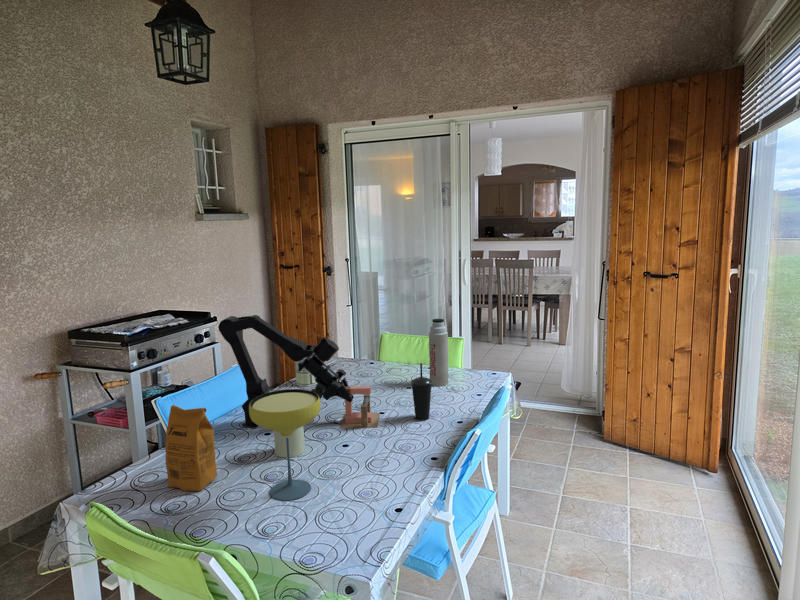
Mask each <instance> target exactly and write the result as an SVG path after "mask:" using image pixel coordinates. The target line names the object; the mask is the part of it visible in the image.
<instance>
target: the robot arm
mask: <svg viewBox="0 0 800 600" xmlns="http://www.w3.org/2000/svg"><path fill="white" fill-rule="evenodd" d="M217 328H218V331H219V333H220V334H221V336H222V338H223V339H224V341H226V342H227V343H228V344H229V345H230V347H231V349H232V352H233V355H234V357H235V359H236V361H237V364H238V367H239V369H240V371H241V373H242V375H243V379H244V381H245V388H246V389H245V390H246V396H247V399H246V401H245V402H244V403H243V404H242V405H241V408H242V410H243V412H244V422H242V423H241V424H242V426H246V427H249V428H258V427H259V426H258V425H257V424H255V423H254V422H253V421H252V420H251V418H250V415H249V404H250V402H251V401H252V400H253V399H254V398H256V397H257V396H260V395H262V394H265V393H269V392H270V389H271V387H270V386H269V385H268V381H267V378H263V379H262V378H261V377H260V376H259V375H258V372H257V370H256V368H255V365H254V363H253V360H252V357H251V355H250V352H249V351H248V348H247V346H246V343H245V341H244V330H248V329H253V330H254V331H255V332H257V333H258V334H260V335H262V336H264V338H266V339H267V340H269V341H270V342H272V343H274V344H275V345H277V346H278V347H279V348H280V349H281V350H282V352H283V353H284V354H285V355H286V356H287V357H288V358H289V359H291V361H293V362H295V361H296V362H297V361H301V360H303V359H304V358H305V357H307V358H306V359H305V360H304V361H303V362H299V363H298V366H299V370H298V371H301V370H302V369H303V368H305V369H306V370H307V371H308V372H309V373H311V374H312V375H313V376H314V377H315V378H316V379H315V382H316V383H317V385H315V388H312V389H311V390H310V391H312V392H314V393H316V394H317V395H318V396H319V398H320V400H321V399H322V398H323V399H325V400H326V401H328V400H329V399H330V398H333V397H338V398H339V399H340V398H341V399H343V400H344V401H345V400H347V401H349V402H352V403H353V399H354V394H351V396H350V394H349V392H348V391H347V389H346V387H350V386H349V383H348V381H347V378H346V377H345V375H346V374H347V372H346V371H345V370H344V369H337V370H336V372H334V370H333V369H331V368H330V367H331V365H329V364H325V363H324V362H325V361H326V362H328V361H330V360H331V358H332V357H333V356H334V355H335V354H336V353H337V352H338V351H339V350H340V349H339V348H340V347H339V346H338V344H336V343H335V341H333V340H331V339H329V338H327V337H326V336H323V337H322V338H321V339H320V341H319V342H318V343H317V344H316V345H314V344H307V343H305V342H304V341H302V340H299V339H297V338H294V337H290V336H289V335H287V334H285V333H283V332H282V331H281V330H279V329H277V328H276V327H274V325H272V324H270V323H268V321H265V320H264V319H263V318H261V317H260V316H259V315H257V314H251V315H246V316H239V317H237V316H234V315H230V316H228V317H226V318H224V319H222V320H221V321H220V322H219V323H218V327H217ZM313 352H314V353H315V354H314V355H313V356H312V357H309V356H311V355H312V353H313ZM343 376H344V377H343ZM342 377H343V379H342ZM351 397H352V398H351Z"/></svg>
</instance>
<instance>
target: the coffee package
mask: <svg viewBox="0 0 800 600" xmlns="http://www.w3.org/2000/svg"><path fill="white" fill-rule="evenodd" d="M207 411H208V410H207V408H206V407H198V408H197V407H196V408H188V409H184V408H181V407H179V406H178V405H174V404H172V405H171V406H170V410H169V415H168V422H167V427H166V435H165V467H166V471H167V472H166V474H167V482H168V483H167V484H168V488H178V489H180V490H182V491H183V492H201V491H203V490H204V489H205V488H206V487H207V486H208V485H209V484H211V482H212V481H215V480H216V478H217V477H218V473H217V472H218V471H217V462H216V445H215V444H216V443H215V429H214V428H213V426H212V424H211V422H210V420H209V419H208V417H207V415H206V413H207Z"/></svg>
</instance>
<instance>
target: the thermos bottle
mask: <svg viewBox="0 0 800 600" xmlns="http://www.w3.org/2000/svg"><path fill="white" fill-rule="evenodd" d="M431 322H432V323H431V324H432V325H431V326H429V332H428V348H429V349H428V353H429V355H428V357H429V379H431V380H432V385H431V386H433V387H444V386H448V385H449V335H448V333H449V332H448V331H447V327H446V326H445V323H444V322H445V320H444V319H443V318H434V319H432V321H431Z"/></svg>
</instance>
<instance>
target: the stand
mask: <svg viewBox="0 0 800 600" xmlns="http://www.w3.org/2000/svg"><path fill="white" fill-rule="evenodd" d="M360 412H361V423H345V417H346V412H345V413H344V415H343V417H342V420H341V423H340V425H339V427H338V428H339V430H340V429H378V428H379V427H378V426H379V424H380V423H379V422H380V416H381V412H372V422H371V423H368V414H367V412H371V394H363V402H362V404H361V405H360Z"/></svg>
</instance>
